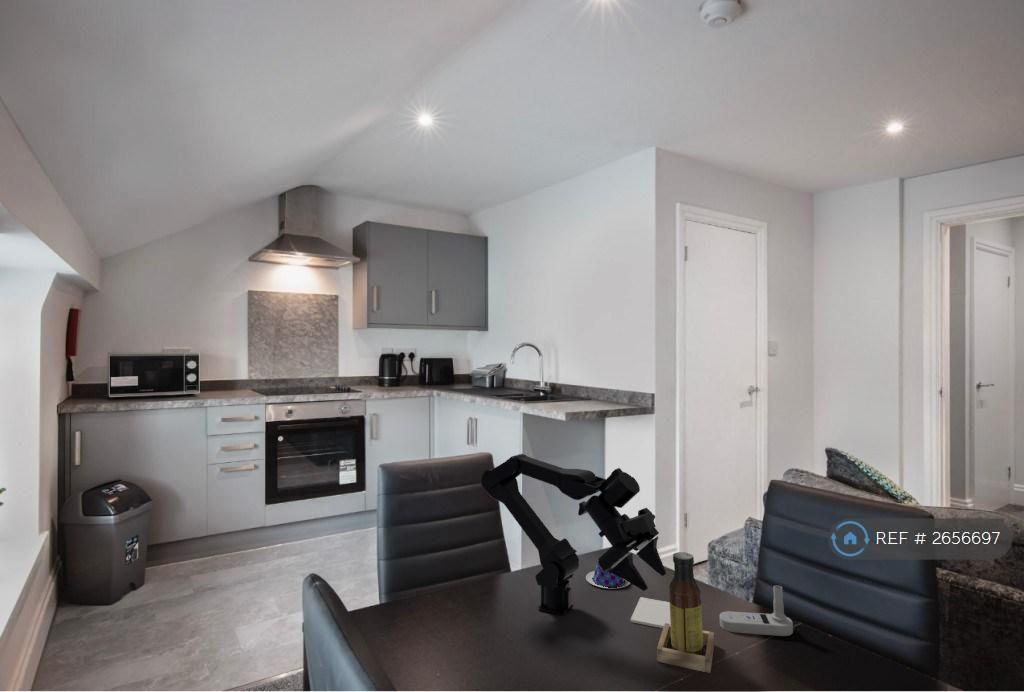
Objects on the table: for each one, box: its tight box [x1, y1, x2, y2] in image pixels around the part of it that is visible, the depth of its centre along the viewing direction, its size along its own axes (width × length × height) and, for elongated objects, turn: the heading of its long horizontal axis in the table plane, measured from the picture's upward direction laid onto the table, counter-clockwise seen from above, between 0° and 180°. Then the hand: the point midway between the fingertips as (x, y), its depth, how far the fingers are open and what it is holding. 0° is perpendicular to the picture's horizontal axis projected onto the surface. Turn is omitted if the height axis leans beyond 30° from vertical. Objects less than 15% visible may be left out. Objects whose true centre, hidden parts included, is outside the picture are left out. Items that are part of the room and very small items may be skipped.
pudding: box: [585, 561, 631, 589], centre depth 147 cm, size 12×12×5 cm
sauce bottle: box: [668, 551, 704, 656], centre depth 112 cm, size 6×6×20 cm
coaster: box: [630, 596, 671, 629], centre depth 128 cm, size 12×12×1 cm
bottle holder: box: [656, 623, 715, 674], centre depth 112 cm, size 10×11×2 cm
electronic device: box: [719, 585, 794, 637], centre depth 122 cm, size 5×10×15 cm
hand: (655, 581), depth 116 cm, fingers open, 9 cm apart
